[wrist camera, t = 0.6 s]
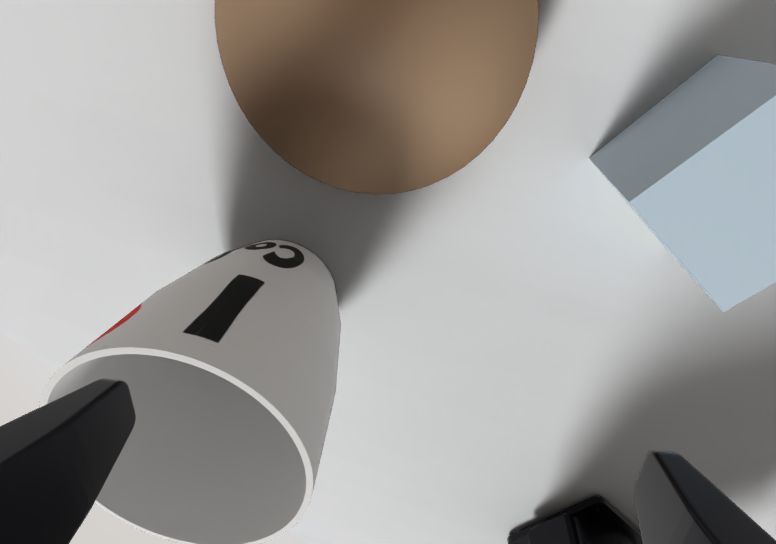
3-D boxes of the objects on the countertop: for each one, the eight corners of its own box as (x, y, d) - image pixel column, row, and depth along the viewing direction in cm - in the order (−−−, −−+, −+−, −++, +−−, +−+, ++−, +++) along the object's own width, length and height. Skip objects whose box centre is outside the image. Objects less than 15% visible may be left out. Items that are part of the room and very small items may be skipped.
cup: (333, 187, 20) (238, 321, 11) (390, 344, 23) (351, 540, 15) (169, 232, 22) (-20, 375, 13) (244, 370, 25) (132, 557, 17)
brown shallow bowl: (589, 33, 16) (609, 36, 14) (385, 221, 21) (377, 246, 18) (376, -239, 14) (361, -286, 12) (193, 38, 18) (156, 41, 16)
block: (792, 160, 18) (903, 209, 13) (663, 246, 20) (723, 312, 15) (716, 54, 16) (811, 69, 12) (588, 157, 18) (629, 201, 14)
